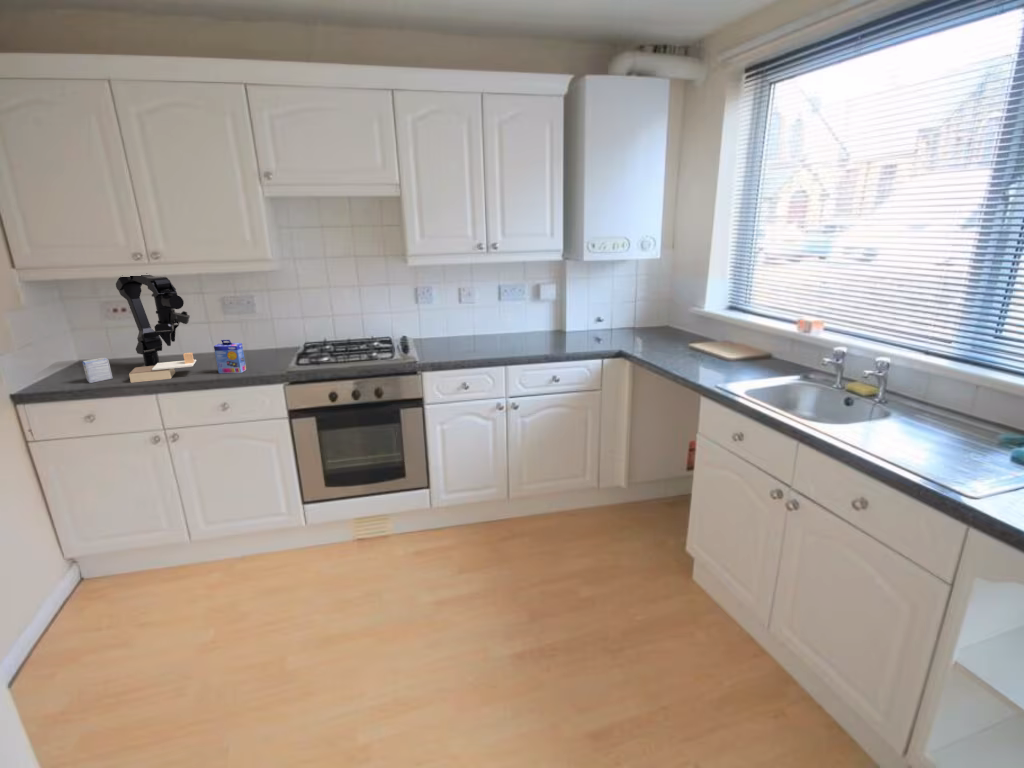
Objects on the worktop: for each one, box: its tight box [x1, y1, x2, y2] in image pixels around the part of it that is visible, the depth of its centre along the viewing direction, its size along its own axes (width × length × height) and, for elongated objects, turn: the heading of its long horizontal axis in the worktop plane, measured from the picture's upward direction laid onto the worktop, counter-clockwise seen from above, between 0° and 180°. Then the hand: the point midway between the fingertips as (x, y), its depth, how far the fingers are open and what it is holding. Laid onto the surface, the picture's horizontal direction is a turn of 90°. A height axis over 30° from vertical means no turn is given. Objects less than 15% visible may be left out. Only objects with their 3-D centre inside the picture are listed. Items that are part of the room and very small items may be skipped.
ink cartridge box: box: [213, 339, 247, 374], centre depth 229 cm, size 10×6×14 cm, turn 93°
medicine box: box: [81, 357, 113, 384], centre depth 221 cm, size 8×4×9 cm, turn 141°
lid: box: [152, 352, 197, 370], centre depth 226 cm, size 10×14×5 cm
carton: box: [128, 366, 176, 384], centre depth 224 cm, size 10×14×4 cm
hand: (171, 343), depth 231 cm, fingers open, 9 cm apart
